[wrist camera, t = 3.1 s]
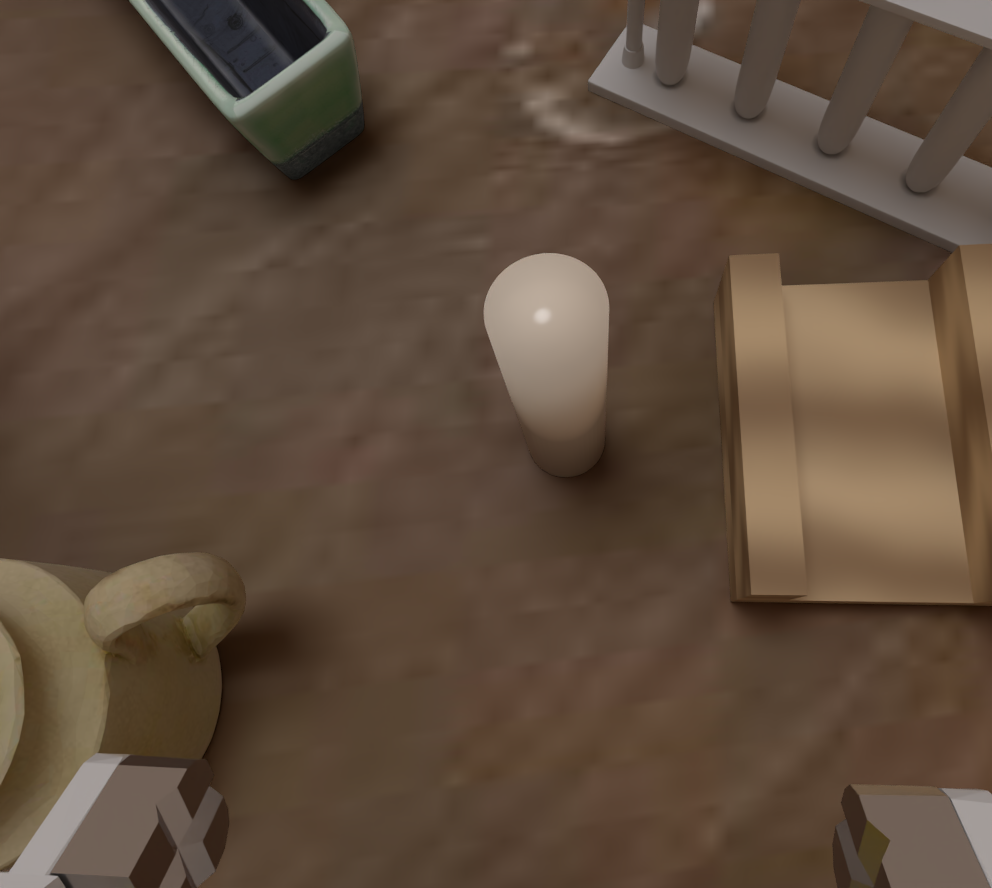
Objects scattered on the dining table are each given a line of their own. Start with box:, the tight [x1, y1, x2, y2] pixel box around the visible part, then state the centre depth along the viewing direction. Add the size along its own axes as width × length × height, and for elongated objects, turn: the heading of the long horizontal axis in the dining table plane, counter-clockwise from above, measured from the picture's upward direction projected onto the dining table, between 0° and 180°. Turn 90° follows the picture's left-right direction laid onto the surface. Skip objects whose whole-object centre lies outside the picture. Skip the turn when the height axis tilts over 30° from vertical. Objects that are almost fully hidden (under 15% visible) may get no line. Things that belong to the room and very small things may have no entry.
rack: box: [713, 244, 992, 606], centre depth 31 cm, size 14×11×4 cm
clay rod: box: [484, 253, 609, 477], centre depth 28 cm, size 4×4×14 cm
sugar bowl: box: [0, 552, 246, 871], centre depth 27 cm, size 15×11×15 cm
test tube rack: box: [588, 0, 992, 253], centre depth 31 cm, size 25×4×13 cm, turn 56°
